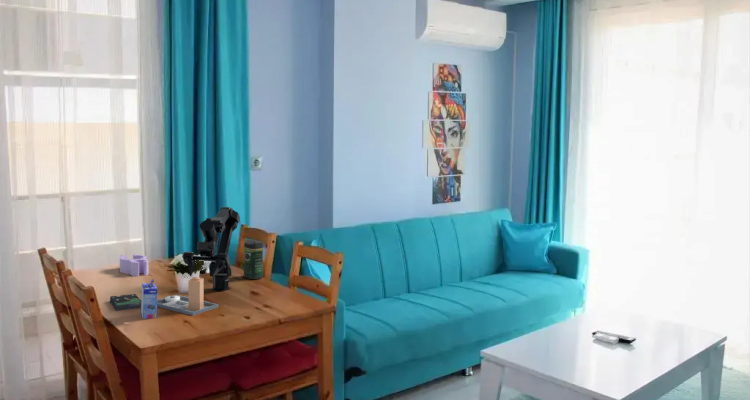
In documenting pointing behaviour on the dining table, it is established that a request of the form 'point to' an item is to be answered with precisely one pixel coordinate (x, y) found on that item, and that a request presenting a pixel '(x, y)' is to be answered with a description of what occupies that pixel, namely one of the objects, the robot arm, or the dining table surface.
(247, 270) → the coffee jar
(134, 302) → the disk drive
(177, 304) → the grey rectangular tray
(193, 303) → the block
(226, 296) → the dining table surface
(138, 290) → the dining table surface
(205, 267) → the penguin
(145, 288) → the ink cartridge box
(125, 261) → the clip
